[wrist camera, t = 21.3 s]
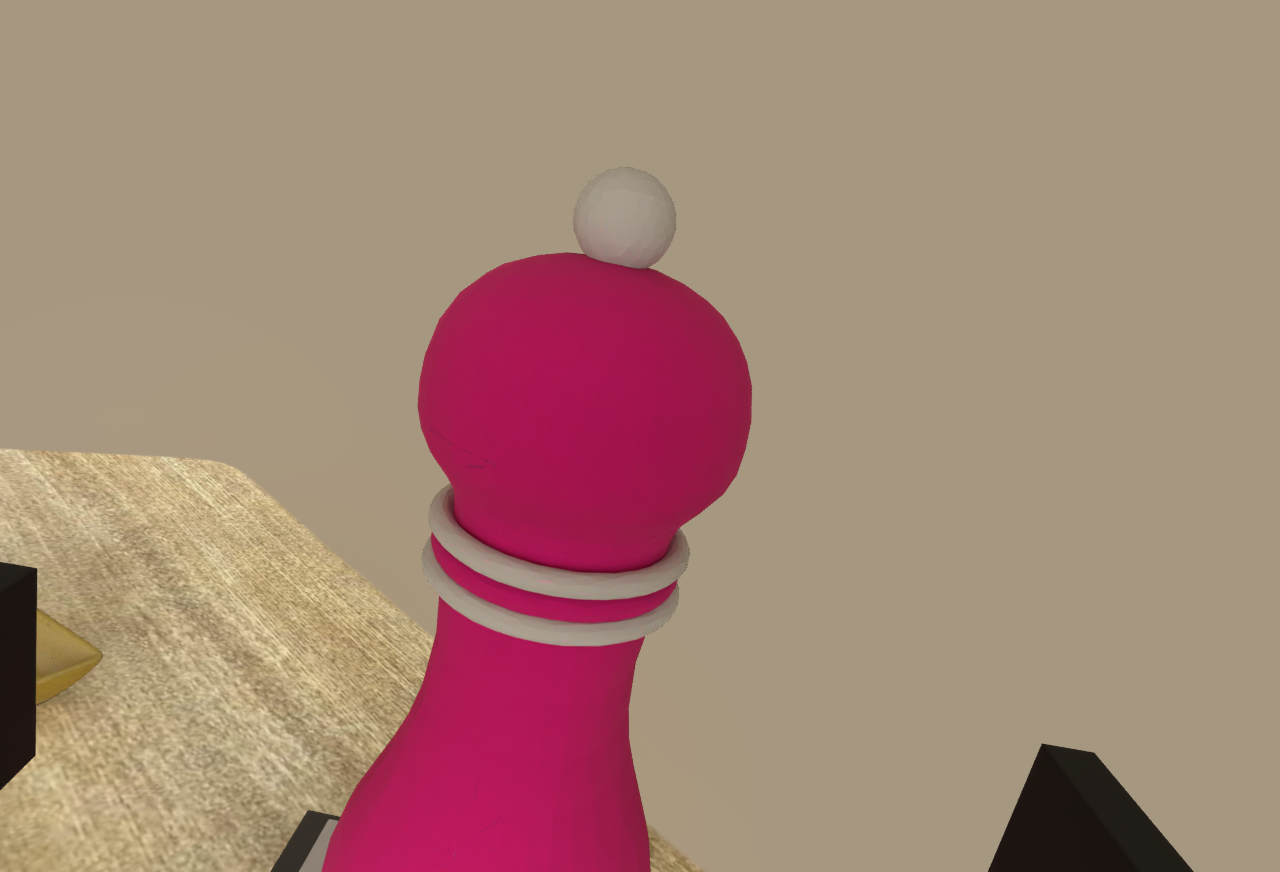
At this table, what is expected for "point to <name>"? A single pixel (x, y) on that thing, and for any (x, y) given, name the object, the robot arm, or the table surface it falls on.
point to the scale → (307, 844)
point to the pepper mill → (553, 547)
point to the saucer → (60, 657)
